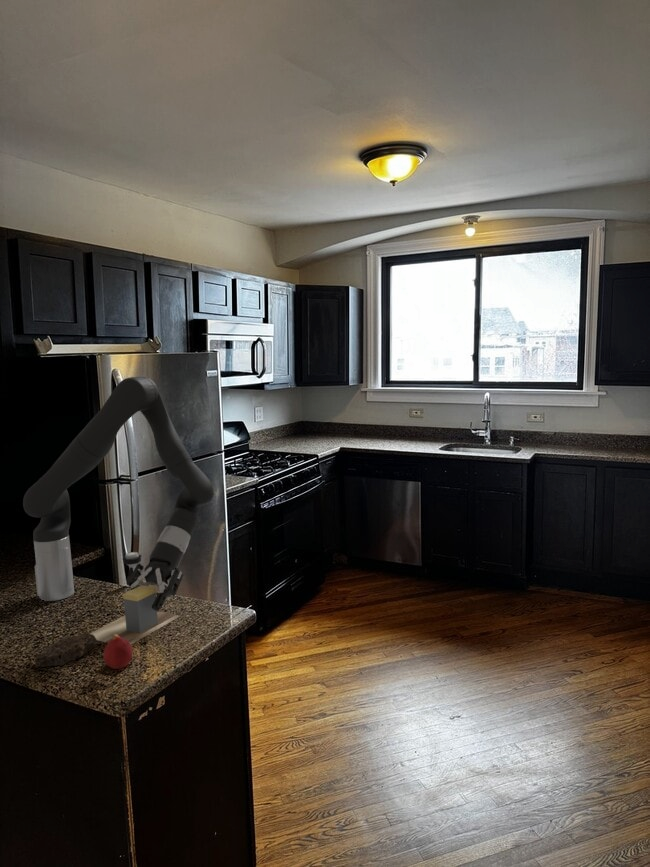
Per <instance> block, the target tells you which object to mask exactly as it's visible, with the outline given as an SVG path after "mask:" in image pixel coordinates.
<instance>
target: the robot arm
mask: <svg viewBox="0 0 650 867" xmlns="http://www.w3.org/2000/svg"><path fill="white" fill-rule="evenodd" d="M138 412H140V413H141V414H142V416H144V418H145V419H146V421H147V423H148V424H149V426H150V430H151V431H152V436H153V437H154V438H153V439H154V443H155V447H156V451H157V453H158V456H159V458H160V460H161V461H162V464H164V466H165V468H166V470H167V471H168V474H169V475H170V476H171V477H172V478H173V479H175V480H179V481H180V482H181V483H182V484H183V486H184V487H183V488H182V489H181V491H180V492H179V494H178V496H177V499H176V502H175V504H174V507H173V508H174V509H173V512H172V514H171V516H170V517H169V520H168V521H167V523H166V526H165V527H164V529H163V531H161V533H160V535H159V537H158V539H157V541H156V543H155V545H154V548H152V549H153V550H152V551H151V553H150V555H149V562H148V563H147V565H142V564H141V562H139V563H138V564H137V565H136V567H135V569H134V571H133V573H132V575H131V576H130V578H129V580H128V582H126V585H127V586H128V587H129V586H130V587H129V588H130V590H133V589H135V588H137V587H139V586H141V585H143V586H149V587H150V586H157V587H158V589H159V592H158V593H156V598H155V601H154V603H153V605H152V609H154V610H155V611H157V612H160V610H161V609H162V608H163V605H164V604H165V601H166V599H167V598H168V597H169V596H172V597H174V596H176V594H177V592H178V590H179V587H180V586H181V585H180V584H181V582H182V579H183V577H184V573H183V572H182V571H181V570H180V569H179V565H180V563H181V562H182V559H183V557H184V554H185V552H186V550H187V549H188V546H189V545H190V544H189V543H190V541H191V538H192V535H193V534H194V532H195V529H196V528H197V527H196V526H197V524H198V520H199V519H198V516H197V515H198V513H199V511H200V509H201V507H203V506H204V505H206V504H208V503H209V502H210V501H212V500H213V497H214V494H215V493H214V492H215V491H214V487H213V485H212V482H211V480H210V479H209V477H207V475H206V474H205V473H204V472H203V471H202V470H201V468H199V467H198V465H197V464H196V463H195V462H194V461H193V459H192V457H191V455H190V453H189V452H188V450H187V448H186V447H185V445H184V444H183V441H182V440H181V438H180V437H179V435H178V432H177V430H176V428H175V426H174V424H173V422H172V420H171V418H170V415H169V412H168V411H167V408H166V406H165V403H164V401H163V397H162V395H161V393H160V390H159V387H158V386H157V384H156V383H155V381H154V380H152V379H151V378H149V377H147V376H130V377H126V378H124V379H123V380H121V381H120V382H119V383H118V384H117V385H116V387H114V389H113V391H112V392H111V393H110V395H109V396H108V399H106V401H105V403H104V404H103V405H102V407H101V409H99V411H98V412H97V414H95V415H94V416H93V418H91V420H90V421H88V423H87V424H86V425H85V426H84V428H83V429H82V430H80V431H79V433H78V434H77V435H76V437H74V439H73V440H72V441H71V442H70V443H69V445H68V446H67V448H65V450H64V451H63V452H62V453H61V455H60V456H59V457H58V458H57V460H56V461H55V462H54V463H53V464H52V466H51V467H50V468H49V469H48V470H47V471H46V473H44V474H43V475H42V476H41V477H40V478H39V479H38V480H37V481H36V482H34V483H33V484H32V486H30V487H29V488H28V489H27V490H26V492H25V493H24V496H23V500H22V506H23V510H24V512H25V513H26V514H27V515H28V516H30V517H32V518H40V521H39V523H38V525H37V526H36V527H35V528H34V529H33V531H32V532H33V533H32V536H33V537H32V538H33V545H34V546H33V548H34V554H35V555H34V557H35V565H34V574H35V582H36V583H35V584H36V585H35V586H36V593H37V597H38V596H39V597H38V598H39V600H40V599H41V600H40V601H42V600H44V601H43V602H54V601H60V600H63V599H66V598H69V597H71V596H73V595H74V594H75V587H74V585H75V584H74V574H73V564H72V553H71V543H70V542H71V541H70V534H69V533H70V532H69V530H70V526H71V522H72V520H71V519H72V518H71V502H70V501H71V500H70V495H69V492H68V490H67V489H69V488H70V487H71V486H73V484H75V483H76V482H78V481H79V480H81V479H82V478H84V477H85V476H86V475H87V474H88V473H90V472H91V471H92V470H94V469H95V468H96V467H97V466H98V465H99V464H100V463H101V462H102V461H103V459H104V458H105V457H106V456H107V455H108V453H109V452H110V450H112V448H113V446H114V443H115V441H116V438H117V435H118V433H119V431H120V430H121V428H122V427H123V426H124V425H125V424H126V422H128V420H129V419H131V418H132V417H133V416H134V415H135V414H136V413H138ZM134 579H135V581H134V582H133V580H134ZM139 584H140V585H139ZM138 585H139V586H138Z"/></svg>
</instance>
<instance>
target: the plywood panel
mask: <svg viewBox="0 0 650 867" xmlns="http://www.w3.org/2000/svg"><path fill="white" fill-rule="evenodd" d="M157 616H158V624H156V625H154V626H153V627H151V628H149V629H147V630H146V631H144V632H142V633H135V632H131V631H126V619H125V615H124V616H121V617H119V618H118V619H116V620H113V621H112V622H109V623H108V624H106V625H104V626H102V627H100V628H98V629H96V630H94V631H92V632H89V633H90V634H93V635H94V636H95V638H96V641H99V642H103V643H107V644H108V643H109V642H110V641H111V640H112V639H113V635H115V634H116V635H118V636H120V637H121V638H124V639H126V640H127V641H128V642H129V643H130V644H131V645H132V644H135V643H136V642H138V641H139V640H142V639H143V638H145V637H147V636H148V635H150V634H152V633H153V632H155V631H157V630H158V629H160V628H162V627H164V626H166V625H167V624H170V623H171V622H173V621H175V620H176V619H178V618H180V617H181V616H180V615H177V614H175V613H171V612H165V611H157Z"/></svg>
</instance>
